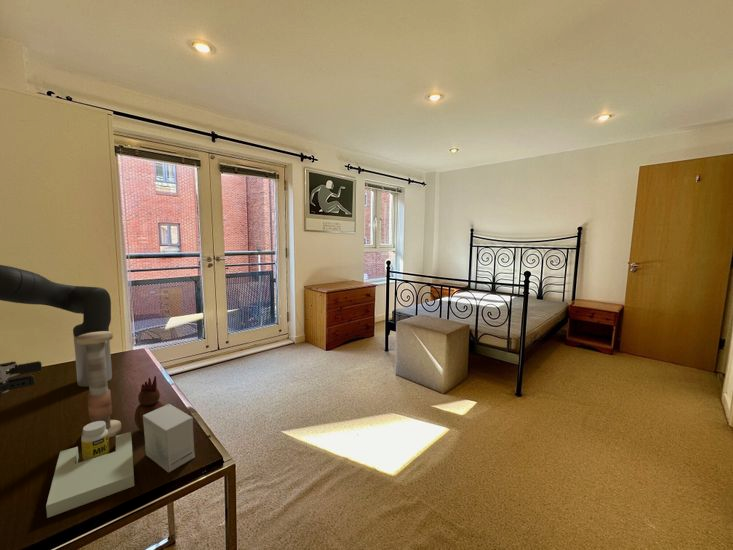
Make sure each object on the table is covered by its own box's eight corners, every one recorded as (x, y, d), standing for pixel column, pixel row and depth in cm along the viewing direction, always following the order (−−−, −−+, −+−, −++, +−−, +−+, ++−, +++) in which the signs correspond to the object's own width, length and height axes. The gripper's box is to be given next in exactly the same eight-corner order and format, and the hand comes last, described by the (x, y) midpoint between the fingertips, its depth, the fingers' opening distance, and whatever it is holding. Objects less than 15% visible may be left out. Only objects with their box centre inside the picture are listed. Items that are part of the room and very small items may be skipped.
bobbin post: (83, 430, 84) (74, 333, 81) (121, 420, 89) (115, 328, 86) (80, 447, 78) (71, 342, 74) (121, 435, 83) (114, 337, 79)
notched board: (61, 461, 73) (60, 451, 72) (131, 440, 81) (131, 431, 80) (47, 517, 59) (46, 505, 58) (134, 485, 67) (133, 474, 66)
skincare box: (143, 455, 76) (141, 414, 74) (172, 441, 81) (170, 402, 80) (167, 474, 70) (164, 430, 69) (195, 457, 76) (194, 416, 74)
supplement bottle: (94, 468, 71) (91, 433, 70) (77, 464, 72) (74, 430, 71) (115, 454, 76) (112, 421, 75) (99, 450, 77) (96, 418, 76)
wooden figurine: (170, 426, 87) (167, 373, 85) (149, 438, 82) (146, 383, 80) (152, 420, 89) (149, 369, 87) (131, 432, 84) (127, 378, 82)
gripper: (-101, 391, 57) (29, 368, 67) (-66, 363, 68) (41, 346, 78) (-93, 429, 58) (34, 401, 68) (-60, 395, 69) (45, 375, 79)
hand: (37, 372), depth 73 cm, fingers open, 8 cm apart
